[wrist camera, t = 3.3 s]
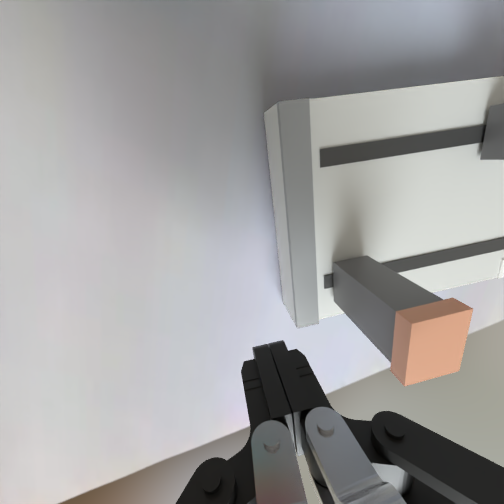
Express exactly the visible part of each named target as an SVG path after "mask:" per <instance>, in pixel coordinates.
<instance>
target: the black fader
mask: <svg viewBox="0 0 504 504" xmlns="http://www.w3.org/2000/svg"><path fill="white" fill-rule="evenodd" d="M480 160H504V103H502V104H497V105H492V106H490V109H489V114H488V120H487V125H486V130H485V136H484V141H483V146H482V152H481V157H480Z"/></svg>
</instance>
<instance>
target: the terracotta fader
mask: <svg viewBox="0 0 504 504" xmlns="http://www.w3.org/2000/svg"><path fill="white" fill-rule="evenodd" d="M333 287H334V302H335V303H336V304H337V305H338V306H339V307H340V308H341V310H342V311H343V312H344V313H345V314H346V315H347V316H348V317H349V318H350V319H351V320H352V321H353V322H354V324H355V325H356V326H357V327H358V328H359V329H360V330H361V331H362V332H363V333H364V334H365V335H366V336H367V338H368V339H369V340H370V341H371V342H372V343H373V344H374V345H375V346H376V347H377V348H378V349H379V350H380V351H381V353H382V354H383V355H384V356H385V357H386V358H387V359H388V360H389V361H390V362H391V370H390V371H391V372H392V373H393V374H394V375H395V376H396V378H397V379H398V380H399V381H400V382H401V383H402V384H403V385H404V386H408V385H411V384H415V383H418V382H421V381H425V380H428V379H432V378H436V377H439V376H443V375H446V374H450V373H453V372H457V371H459V370H460V365H461V361H462V356H463V351H464V347H465V343H466V338H467V334H468V330H469V325H470V321H471V316H472V312H473V308H471V307H469V306H467V305H465V304H464V303H462V302H460V301H458V300H456V299H454V298H450V299H445V300H443V299H441V298H440V297H438V296H436V295H434V294H433V293H431V292H429V291H428V290H426V289H424V288H422V287H421V286H419V285H417V284H415V283H414V282H412V281H410V280H409V279H407V278H405V277H403V276H402V275H400V274H398V273H396V272H395V271H393V270H391V269H390V268H388V267H386V266H384V265H383V264H381V263H379V262H377V261H376V260H374V259H372V258H371V257H369V256H367V255H366V256H361V257H356V258H351V259H346V260H342V261H337V262H333Z"/></svg>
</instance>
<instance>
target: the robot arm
mask: <svg viewBox="0 0 504 504" xmlns="http://www.w3.org/2000/svg"><path fill="white" fill-rule="evenodd" d="M253 354H254V359H253V360H248V361H244V363H243V367H242V370H241V374H242V379H243V385H244V391H245V397H246V403H247V409H248V414H249V420H250V427H251V430H250V437H249V439H248V441H247V443H246V445H245V447H244V448H243V449H242V450H241V451H240V452H238V453H237V454H236V455H234V456H233V457H231V458H230V459H229V460H227V461H226V460H225V459H223V458H218V457H217V458H211V459H208V460H206V461H205V462H203V463H202V464H201V465H200V466H199V467H198V468H197V469H196V471H195V472H194V474H193V476H192V477H191V479H190V481H189V482H188V484H187V486H186V487H185V489H184V491H183V492H182V494H181V496H180V498H179V499H178V501H177V502H176V504H308V503H307V499H306V495H305V491H304V487H303V483H302V479H301V474H300V470H299V466H298V462H297V458H296V452H297V455H298V456H300V455H303V454H304V455H305V458H306V461H307V464H308V467H309V476H310V480H311V482H312V485H313V487H314V490H315V492H316V495H317V497H318V500H319V502H320V504H504V467H502V466H500V465H498V464H495V463H494V462H492V461H490V460H488V459H486V458H484V457H482V456H480V455H478V454H476V453H474V452H472V451H470V450H468V449H466V448H464V447H462V446H460V445H458V444H456V443H454V442H453V441H451V440H449V439H447V438H445V437H443V436H441V435H439V434H437V433H435V432H433V431H431V430H429V429H427V428H425V427H423V426H421V425H419V424H417V423H415V422H413V421H411V420H409V419H407V418H405V417H403V416H402V415H399V414H397V413H394V412H390V411H382V412H379V413H377V414H376V415H375V416H374V417H373V419H372V421H362V420H353V419H348V418H346V417H343V416H342V415H340V414H339V413H337V412H336V411H335V410H334V409H333V408H332V407H331V405H330V403H329V401H328V400H327V398H326V396H325V394H324V392H323V390H322V388H321V386H320V384H319V382H318V380H317V378H316V376H315V375H314V372H313V371H312V369H311V367H310V365H309V363H308V361H307V359H306V357H305V355H303V354H302V353H301V352H300V351H298V350H297V349H294V350H290V351H288V350H287V347H286V345H285V343H284V341H283V340H282V341H277V342H273V343H269V344H265V345H261V346H256V347H253ZM295 449H296V451H295Z"/></svg>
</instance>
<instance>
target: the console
mask: <svg viewBox="0 0 504 504" xmlns="http://www.w3.org/2000/svg"><path fill="white" fill-rule="evenodd" d="M502 103H504V76H498V77H489V78H481V79H473V80H464V81H456V82H448V83H439V84H431V85H423V86H414V87H406V88H398V89H389V90H381V91H373V92H364V93H356V94H348V95H339V96H331V97H323V98H314V99H309V98H302V99H294V100H286V101H279V102H277V103H276V104H275V105H273V106H272V107H271V108H270V109H268V110H267V111H266V112H264V122H265V132H266V141H267V151H268V161H269V171H270V180H271V190H272V200H273V209H274V219H275V229H276V239H277V248H278V258H279V268H280V277H281V287H282V297H283V304H284V305H285V307H286V309H287V311H288V313H289V314H290V316H291V318H292V320H293V321H294V323H295V325H296V327H297V329H298V328H302V327H306V326H310V325H315V324H319V319H324V318H328V317H332V316H336V315H341V314H345V313H344V312H343V311H342V310H341V308H340V307H339V306H338V305H337V304H336V303H335V302H334V287H333V262H337V261H342V260H346V259H351V258H356V257H361V256H366V255H367V256H369V257H371V258H372V259H374V260H376V261H377V262H379V263H381V264H383V265H384V266H386V267H388V268H390V269H391V270H393V271H395V272H396V273H398V274H400V275H402V276H403V277H405V278H407V279H409V280H410V281H412V282H414V283H415V284H417V285H419V286H421V287H422V288H424V289H426V290H428V291H429V292H431V293H434V292H438V291H442V290H447V289H451V288H455V287H459V286H464V285H468V284H472V283H476V282H481V281H485V280H489V279H493V278H502V277H504V160H480V157H481V152H482V146H483V141H484V136H485V130H486V125H487V120H488V114H489V109H490V106H492V105H497V104H502Z"/></svg>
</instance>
